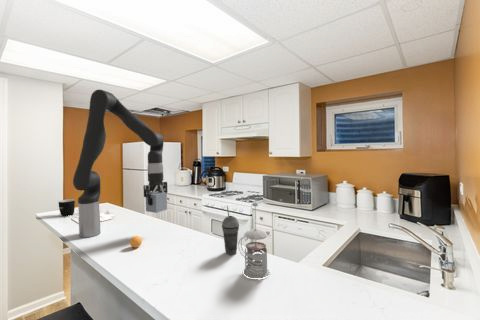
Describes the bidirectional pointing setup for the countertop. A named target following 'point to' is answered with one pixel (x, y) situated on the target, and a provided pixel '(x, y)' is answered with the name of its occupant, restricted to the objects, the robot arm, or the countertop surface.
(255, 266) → the french press
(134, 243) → the ball
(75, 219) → the tray
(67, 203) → the mug
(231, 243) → the beverage cup
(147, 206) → the grey square block
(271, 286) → the countertop surface
